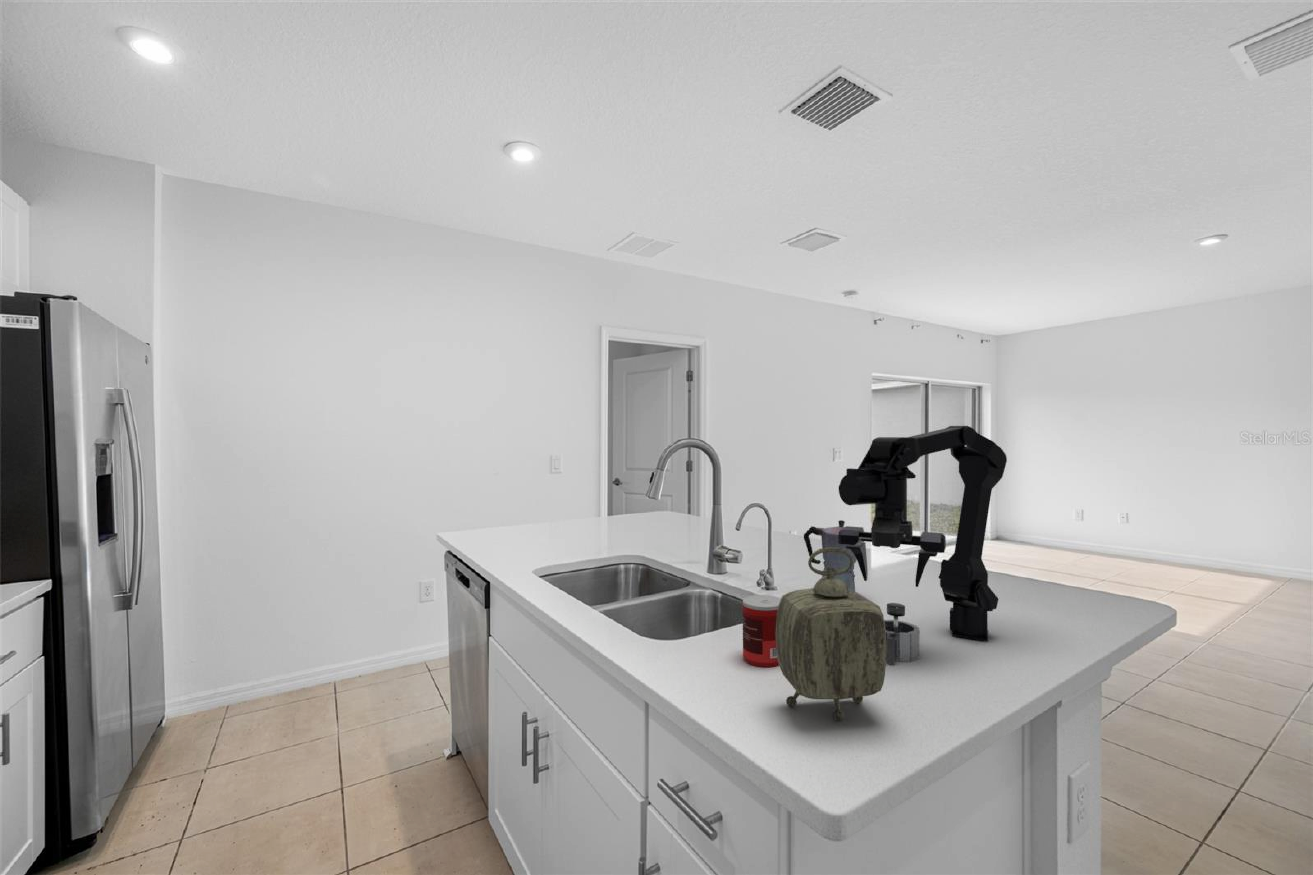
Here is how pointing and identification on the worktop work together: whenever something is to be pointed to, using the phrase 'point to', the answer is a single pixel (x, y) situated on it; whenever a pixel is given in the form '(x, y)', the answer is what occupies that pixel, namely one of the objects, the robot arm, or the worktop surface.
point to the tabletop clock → (831, 640)
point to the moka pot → (833, 558)
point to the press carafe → (902, 642)
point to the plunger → (895, 613)
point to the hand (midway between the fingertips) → (890, 583)
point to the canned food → (760, 630)
